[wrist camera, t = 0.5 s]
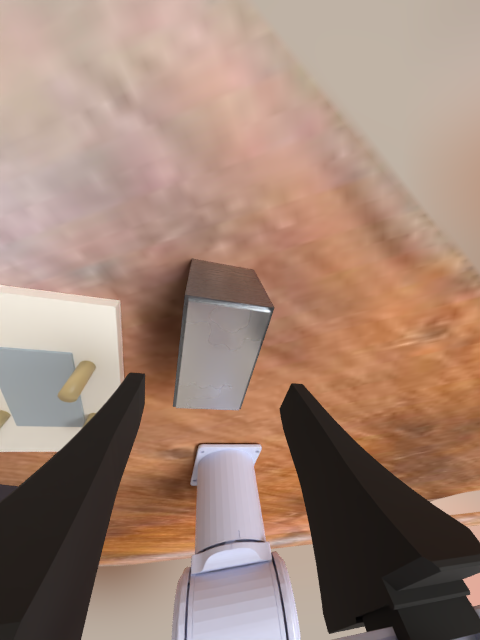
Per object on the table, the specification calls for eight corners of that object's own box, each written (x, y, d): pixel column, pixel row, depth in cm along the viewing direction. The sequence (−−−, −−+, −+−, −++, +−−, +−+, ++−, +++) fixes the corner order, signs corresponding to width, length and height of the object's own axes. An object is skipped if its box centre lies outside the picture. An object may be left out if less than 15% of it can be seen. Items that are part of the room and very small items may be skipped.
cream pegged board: (127, 442, 25) (115, 482, 22) (-1, 441, 23) (-38, 487, 19) (120, 300, 16) (97, 331, 13) (-92, 272, 14) (-189, 302, 10)
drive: (232, 352, 20) (240, 412, 15) (181, 348, 19) (172, 409, 14) (253, 269, 17) (275, 310, 11) (192, 258, 16) (184, 297, 10)
